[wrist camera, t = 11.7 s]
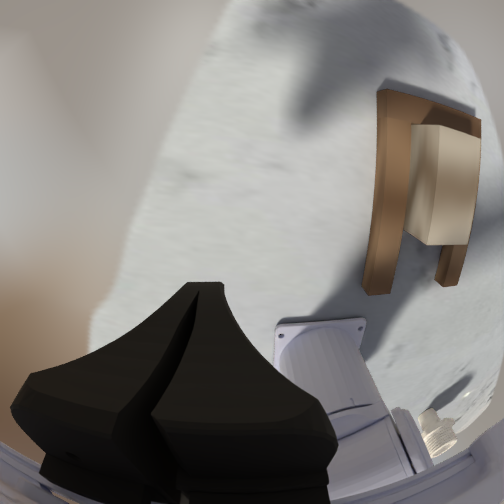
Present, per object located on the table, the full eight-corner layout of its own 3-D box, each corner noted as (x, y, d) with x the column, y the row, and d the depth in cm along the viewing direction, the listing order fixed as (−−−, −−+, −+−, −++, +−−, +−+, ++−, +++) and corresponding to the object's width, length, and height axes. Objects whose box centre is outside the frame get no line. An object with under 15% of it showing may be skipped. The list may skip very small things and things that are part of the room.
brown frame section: (448, 278, 21) (457, 285, 20) (361, 286, 21) (368, 295, 19) (469, 119, 15) (481, 119, 14) (376, 91, 15) (386, 88, 14)
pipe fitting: (420, 426, 33) (436, 459, 26) (401, 424, 32) (417, 462, 24) (447, 403, 31) (466, 436, 24) (431, 399, 30) (451, 437, 22)
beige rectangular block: (438, 227, 19) (467, 244, 16) (398, 226, 19) (426, 245, 16) (447, 135, 16) (480, 138, 13) (406, 124, 16) (439, 124, 12)
